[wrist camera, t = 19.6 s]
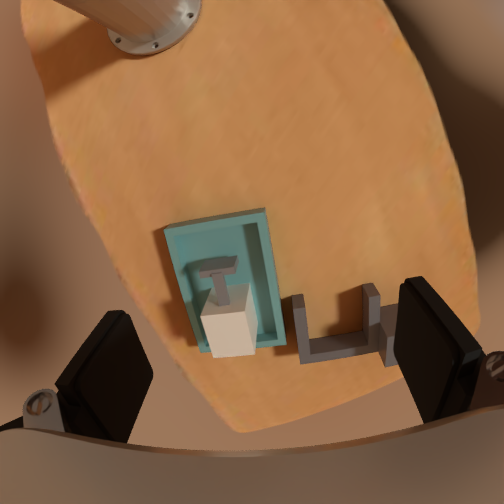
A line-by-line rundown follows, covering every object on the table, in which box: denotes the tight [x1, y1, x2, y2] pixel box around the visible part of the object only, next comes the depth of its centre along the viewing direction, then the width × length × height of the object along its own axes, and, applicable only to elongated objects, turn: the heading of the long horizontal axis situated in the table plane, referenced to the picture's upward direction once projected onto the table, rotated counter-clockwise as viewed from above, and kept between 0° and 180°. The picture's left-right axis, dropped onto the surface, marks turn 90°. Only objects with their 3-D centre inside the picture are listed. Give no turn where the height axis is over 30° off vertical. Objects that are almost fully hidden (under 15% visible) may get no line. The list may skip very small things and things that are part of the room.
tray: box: [164, 208, 287, 353], centre depth 39 cm, size 18×12×2 cm, turn 10°
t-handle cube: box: [199, 255, 258, 358], centre depth 37 cm, size 10×5×7 cm, turn 10°
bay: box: [292, 283, 398, 367], centre depth 37 cm, size 9×18×7 cm, turn 100°
